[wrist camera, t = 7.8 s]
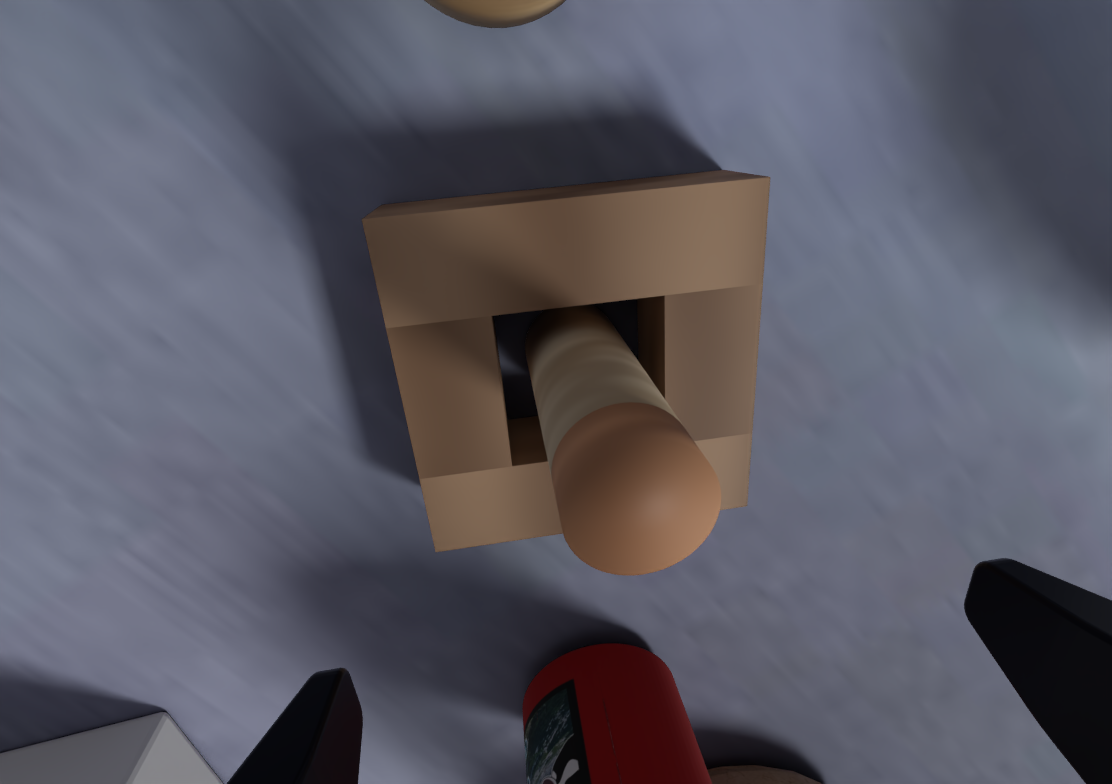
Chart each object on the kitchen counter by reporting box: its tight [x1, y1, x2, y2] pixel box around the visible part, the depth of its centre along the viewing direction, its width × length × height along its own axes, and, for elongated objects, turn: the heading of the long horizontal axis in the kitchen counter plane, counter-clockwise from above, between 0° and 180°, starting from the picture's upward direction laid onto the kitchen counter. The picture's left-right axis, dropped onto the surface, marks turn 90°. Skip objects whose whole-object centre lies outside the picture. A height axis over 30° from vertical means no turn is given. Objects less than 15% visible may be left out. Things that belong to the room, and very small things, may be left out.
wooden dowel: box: [525, 304, 721, 575], centre depth 14 cm, size 3×3×9 cm
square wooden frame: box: [362, 170, 770, 552], centre depth 17 cm, size 10×10×3 cm
